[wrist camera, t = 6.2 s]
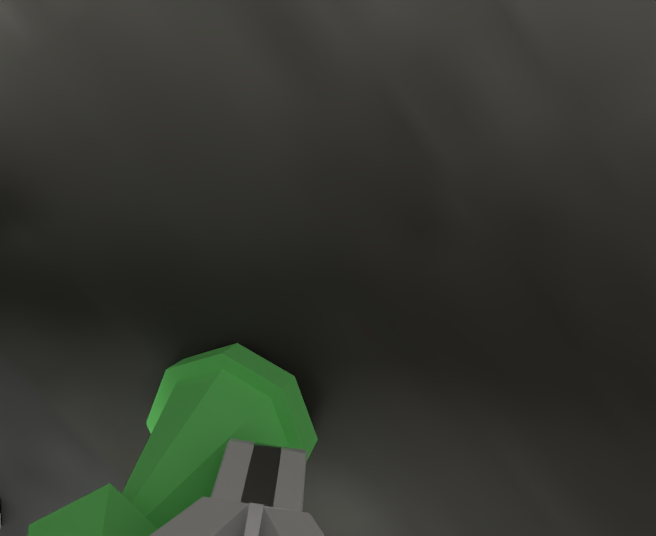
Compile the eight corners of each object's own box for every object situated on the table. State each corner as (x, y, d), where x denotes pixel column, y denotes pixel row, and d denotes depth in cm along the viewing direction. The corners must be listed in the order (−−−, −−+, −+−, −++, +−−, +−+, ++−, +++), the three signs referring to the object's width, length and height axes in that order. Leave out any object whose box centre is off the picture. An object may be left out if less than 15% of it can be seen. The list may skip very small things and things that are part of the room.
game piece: (237, 529, 13) (52, 794, 7) (136, 403, 13) (-116, 567, 8) (353, 446, 12) (232, 696, 6) (237, 308, 12) (18, 423, 6)
